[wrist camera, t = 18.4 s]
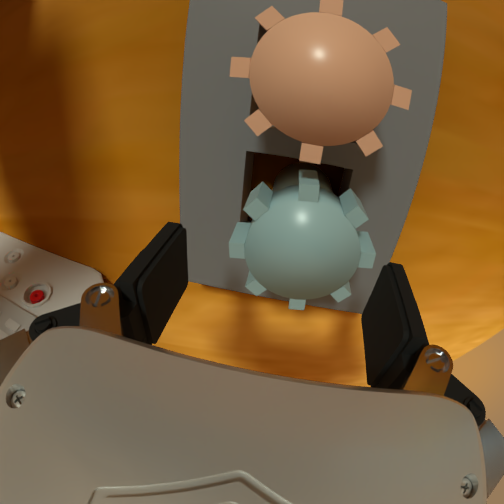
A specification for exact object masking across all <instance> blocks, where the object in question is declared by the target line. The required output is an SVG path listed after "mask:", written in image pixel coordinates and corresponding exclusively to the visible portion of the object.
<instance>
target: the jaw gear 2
mask: <svg viewBox="0 0 504 504" xmlns="http://www.w3.org/2000/svg"><path fill="white" fill-rule="evenodd" d="M243 210H244V211H245V212H246V213H247V214H248V215H249V216H250V217H251V218H252V222H251V223H246V222H237V224H236V226H235V229H234V231H233V234H232V236H231V238H230V241H229V255H230V258H241V259H246V263H247V266H248V268H249V274H248V277H247V281H246V285H245V287H246V288H247V289H248V290H250V291H251V292H252V293H253V294H254V295H256V296H258V295H259V294H261V293H262V292H264V291H265V290H269V291H271V292H273V293H275V294H277V295H280V296H282V297H286V298H289V309H295V310H304V308H305V302H306V300H308V299H316V298H320V297H324V296H326V295H329V294H330V295H331V296H332V297H333V298H334V299H335V300H336V301H337V302H340V301H342V300H343V299H345V298H347V297H348V296H350V295H351V290H350V284H349V280H350V279H351V277H352V276H353V274H354V273H355V271H356V269H357V267H359V268H372V267H373V264H374V260H375V256H376V252H375V250H374V247H373V244H372V241H371V239H370V236H369V234H368V232H363V231H356V228H357V227H359V226H360V225H362V224H363V223H364V222H366V221H367V220H369V219H368V216H367V214H366V212H365V210H364V207H363V205H362V203H361V201H360V199H359V198H358V197H357V196H356V194H355V193H354V192H353V191H352V189H351V188H350V189H349V190H347V191H346V192H345V193H343V194H342V195H341V196H339V197H337V196H336V195H335V194H334V193H333V190H332V187H331V183H330V181H329V179H328V177H327V175H326V174H325V173H324V172H323V171H322V170H321V169H320V168H318V167H317V166H315V165H312V164H309V163H294V164H291V165H288V166H287V167H285V168H284V169H282V170H281V171H280V172H279V174H278V175H277V177H276V178H275V181H274V185H273V189H272V190H271V189H270V188H269V187H268V186H267V185H266V184H265V183H264V182H263V181H262V182H261V183H260V184H259V185H258V186H257V187H256V188H254V189H253V190H252V191H251V192H250V194H249V197H248V199H247V202H246V204H245V206H244V209H243Z"/></svg>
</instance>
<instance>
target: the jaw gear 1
mask: <svg viewBox="0 0 504 504" xmlns="http://www.w3.org/2000/svg"><path fill="white" fill-rule="evenodd" d="M342 10H343V0H320V7H319V12H310V13H302V14H298V15H294V16H291V17H289V18H286V19H285V18H284V17H283V16H282V15H281V14H280V13H279V12H278V11H277V10H276V9H275V8H274V7H273V6H271V7H269V8H268V9H266V10H265V11H263V12H262V13H260V14H259V15H258V16H256V17H255V19H256V20H257V21H258V22H259V23H260V25H261V26H262V27H263V28H264V29H265V30H266V31H267V32H266V33H265V34H264V35H263V37H262V38H261V39H260V41H259V42H258V44H257V46H256V48H255V50H254V52H253V55H252V58H246V57H231V66H230V77H239V78H249V79H250V86H251V90H252V94H253V97H254V99H255V102H256V104H257V105H258V107H259V109H258V110H257V111H255V112H254V113H253V114H251V115H250V116H249V117H247V118H246V119H245V120H244V121H245V122H246V123H247V125H248V126H249V127H250V128H251V129H252V130H253V132H254V133H255V134H256V135H257V136H259V135H260V134H261V133H263V132H264V131H266V130H267V129H268V128H270V127H271V126H272V125H274V126H275V127H276V128H277V129H278V130H280V131H281V132H283V133H284V134H286V135H287V136H289V137H291V138H293V139H295V140H298V141H301V142H302V144H301V151H300V158H299V161H305V162H310V163H315V164H320V163H321V157H322V152H323V146H336V145H342V144H347V143H350V142H353V141H355V142H356V144H357V145H358V147H359V148H360V149H361V151H362V152H363V153H364V155H365V156H368V155H370V154H371V153H373V152H375V151H376V150H378V149H379V148H381V147H383V145H382V143H381V142H380V140H379V139H378V137H377V135H376V134H375V132H374V131H373V129H374V128H375V127H376V126H378V124H379V123H380V122H381V121H382V119H383V118H384V116H385V115H386V113H387V111H388V109H389V107H390V105H393V106H397V107H400V108H403V109H407V110H409V105H410V99H411V93H412V90H410V89H407V88H404V87H401V86H397V85H394V77H393V72H392V67H391V64H390V61H389V59H388V57H387V55H386V52H388V51H390V50H392V49H394V48H396V47H397V46H399V45H400V43H399V42H398V41H397V39H396V38H395V36H394V35H393V34H392V33H391V31H390V30H389V29H388V27H386V28H384V29H382V30H381V31H379V32H377V33H375V34H373V35H372V34H370V33H369V32H368V31H367V30H366V29H364V28H363V27H362V26H360V25H359V24H357V23H355V22H353V21H351V20H349V19H347V18H344V17H342Z"/></svg>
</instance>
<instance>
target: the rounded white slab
mask: <svg viewBox="0 0 504 504" xmlns="http://www.w3.org/2000/svg"><path fill="white" fill-rule="evenodd" d="M98 283H104V281H103V278H102V274H101V273H99V272H98V271H96V270H95V269H93V268H91V267H88V266H85V265H83V264H80V263H77V262H74V261H72V260H69V259H66V258H64V257H61V256H58V255H56V254H53V253H51V252H48V251H46V250H43V249H40V248H38V247H35V246H33V245H31V244H28V243H26V242H23V241H21V240H18V239H16V238H14V237H11V236H9V235H7V234H4V233H2V232H0V340H1V339H3V338H5V337H7V336H10V335H12V334H14V333H16V332H18V331H20V330H22V329H24V328H25V329H26V331H28V330H29V327H30V325H31V323H32V322H33V321H34V319H36V318H37V317H38V316H40V315H43V314H46V313H49V312H52V311H55V310H59V309H62V308H65V307H68V306H72V305H75V304H78V303H81V297H82V294H83V293H84V291H85V290H86V289H87V288H89V287H90V286H92V285H94V284H98Z"/></svg>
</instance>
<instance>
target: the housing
mask: <svg viewBox="0 0 504 504" xmlns="http://www.w3.org/2000/svg"><path fill="white" fill-rule="evenodd" d="M271 6H273V7H274V8H275V9H276V10H277V11H278V12H279V13H280V14H281V15H282V16H283V17H284V18H285V19H286V18H289V17H291V16H294V15H298V14H302V13H310V12H319V7H320V0H190V4H189V12H188V20H187V30H186V40H185V51H184V63H183V77H182V94H181V117H180V224H182V226H183V228H186V231H187V260H188V281H190V282H195V283H199V284H204V285H209V286H213V287H218V288H223V289H228V290H233V291H237V292H242V293H247V294H252V295H254V294H253V293H252V292H251V291H250V290H248V289H247V288H246V287H245V285H246V281H247V277H248V274H249V268H248V266H247V263H246V259H241V258H230V255H229V241H230V238H231V236H232V234H233V231H234V229H235V226H236V224H237V222H246V223H251V221H247V220H248V214H247V213H246V212H245V211H244V210H243V209H244V206H245V204H246V202H247V199H248V197H249V194H250V190H251V181H252V171H253V161H254V152H259V153H266V154H273V155H279V156H285V157H291V158H297V159H299V158H300V151H301V144H302V142H301V141H298V140H295V139H293V138H291V137H289V136H287V135H286V134H284V133H283V132H281V131H280V130H278V129H277V128H276V127H275V126H274V125H272V126H271V127H270V128H268V129H267V130H266V131H264V132H263V133H261V134H260V135H259V136H257V135H256V134H255V133H254V132H253V130H252V129H251V128H250V127H249V126H248V125H247V123H246V122H245V121H244V120H245V119H246V118H247V117H249V116H250V115H251V114H253V113H254V112H255V111H257V110H258V109H259V107H258V105H257V104H256V102H255V99H254V97H253V94H252V90H251V86H250V79H249V78H239V77H230V66H231V57H246V58H252V55H253V52H254V50H255V48H256V46H257V44H258V42H259V41H260V39H261V38H262V37H263V35H264V34H265V33H266V32H267V31H266V30H265V29H264V28H263V27H262V26H261V25H260V23H259V22H258V21H257V20H256V19H255V17H256V16H258V15H259V14H260V13H262V12H263V11H265V10H266V9H268V8H269V7H271ZM342 17H344V18H347V19H349V20H351V21H353V22H355V23H357V24H359V25H360V26H362V27H363V28H364V29H366V30H367V31H368V32H369V33H370V34H372V35H373V34H375V33H377V32H379V31H381V30H382V29H384V28H386V27H388V29H389V30H390V31H391V33H392V34H393V35H394V36H395V38H396V39H397V41H398V42H399V43H400V45H399V46H397V47H396V48H394V49H392V50H390V51H388V52H386V55H387V57H388V59H389V61H390V64H391V67H392V72H393V77H394V85H397V86H401V87H404V88H407V89H410V90H412V93H411V99H410V105H409V110H407V109H403V108H400V107H397V106H393V105H390V107H389V109H388V111H387V113H386V115H385V116H384V118H383V119H382V121H381V122H380V123H379V124H378V126H376V127H375V128H374V129H373V131H374V132H375V134H376V135H377V137H378V139H379V140H380V142H381V143H382V145H383V147H381V148H379V149H378V150H376V151H375V152H373V153H371V154H370V155H368V156H365V155H364V153H363V152H362V151H361V149H360V148H359V147H358V145H357V144H356V142H355V141H353V142H350V143H347V144H342V145H336V146H323V152H322V157H321V163H324V164H329V165H334V166H338V167H343V168H344V172H343V177H342V181H341V186H340V190H339V194H338V197H339V196H341V195H342V194H343V193H345V192H346V191H347V190H349V189H350V188H351V189H352V191H353V192H354V193H355V194H356V196H357V197H358V198H359V199H360V201H361V203H362V205H363V207H364V210H365V212H366V214H367V216H368V219H369V220H367V221H366V222H364V223H363V224H362V225H360V226H359V227H357V228H356V231H363V232H368V234H369V236H370V239H371V241H372V244H373V247H374V250H375V252H376V256H375V260H374V264H373V267H372V268H359V267H357V269H356V271H355V273H354V274H353V276H352V277H351V279H350V280H349V284H350V290H351V295H350V296H348V297H347V298H345V299H343V300H342V301H340V302H337V301H336V300H335V299H334V298H333V297H332V296H331V295H330V294H329V295H326V296H324V297H320V298H316V299H308V300H306V302H305V304H306V305H312V306H317V307H323V308H329V309H335V310H341V311H348V312H354V313H360V314H362V313H363V310H364V308H365V306H366V304H367V302H368V299H369V297H370V295H371V293H372V291H373V288H374V286H375V284H376V281H377V279H378V277H379V274H380V272H381V269H382V267H383V266H384V265H387V264H388V263H389V262H390V259H391V257H392V254H393V252H394V249H395V246H396V244H397V241H398V239H399V236H400V233H401V231H402V228H403V225H404V222H405V219H406V216H407V214H408V211H409V208H410V205H411V202H412V199H413V195H414V192H415V189H416V186H417V182H418V179H419V176H420V172H421V169H422V165H423V161H424V158H425V154H426V150H427V146H428V142H429V138H430V133H431V129H432V124H433V120H434V115H435V110H436V104H437V99H438V93H439V87H440V81H441V74H442V66H443V58H444V49H445V37H446V21H447V3H445V2H443V1H441V0H343V10H342ZM258 296H263V297H268V298H273V299H278V300H284V301H289V298H286V297H282V296H280V295H277V294H275V293H273V292H271V291H269V290H265V291H264V292H262V293H261V294H259V295H258Z"/></svg>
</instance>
